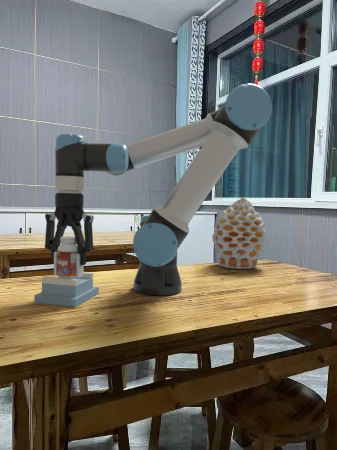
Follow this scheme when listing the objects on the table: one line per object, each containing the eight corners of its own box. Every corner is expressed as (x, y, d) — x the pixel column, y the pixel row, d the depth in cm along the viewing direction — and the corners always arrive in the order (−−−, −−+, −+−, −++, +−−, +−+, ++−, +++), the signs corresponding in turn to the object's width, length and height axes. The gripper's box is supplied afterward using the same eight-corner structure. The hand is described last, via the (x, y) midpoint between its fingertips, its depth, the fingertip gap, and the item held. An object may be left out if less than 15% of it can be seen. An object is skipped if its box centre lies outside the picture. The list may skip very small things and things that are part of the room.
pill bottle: (52, 276, 101) (52, 236, 101) (71, 273, 106) (71, 235, 105) (65, 280, 97) (66, 238, 97) (84, 276, 102) (85, 237, 101)
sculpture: (253, 274, 142) (256, 197, 140) (202, 267, 154) (205, 195, 152) (269, 266, 160) (273, 198, 158) (223, 260, 172) (226, 196, 170)
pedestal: (98, 293, 107) (98, 271, 107) (75, 307, 94) (76, 282, 93) (61, 289, 110) (62, 268, 110) (34, 302, 97) (34, 278, 96)
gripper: (107, 193, 101) (106, 275, 103) (46, 191, 106) (45, 270, 107) (95, 193, 94) (94, 281, 96) (30, 191, 98) (30, 275, 100)
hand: (68, 275), depth 102 cm, fingers closed on pill bottle, 6 cm apart
